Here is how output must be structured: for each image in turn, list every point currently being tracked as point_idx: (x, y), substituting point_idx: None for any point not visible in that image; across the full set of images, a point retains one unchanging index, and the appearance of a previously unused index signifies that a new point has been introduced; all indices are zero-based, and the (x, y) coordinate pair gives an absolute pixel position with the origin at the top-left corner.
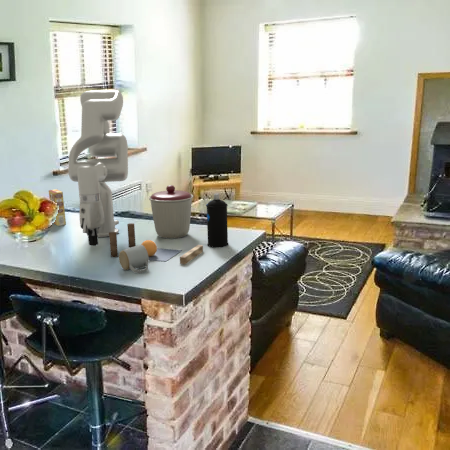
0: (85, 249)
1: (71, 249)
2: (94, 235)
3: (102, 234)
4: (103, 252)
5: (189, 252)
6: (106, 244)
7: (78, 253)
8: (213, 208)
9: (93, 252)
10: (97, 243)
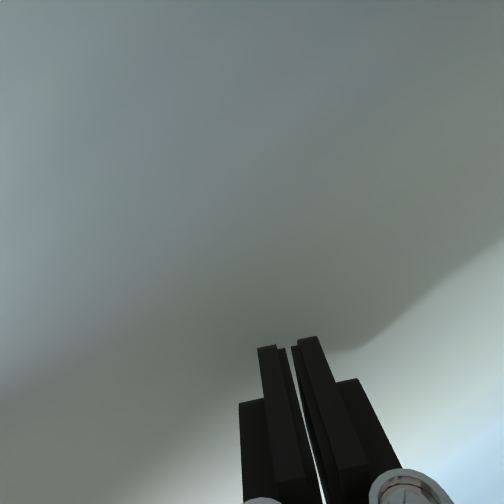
0: None
1: None
2: (379, 479)
3: None
4: (368, 124)
5: None
6: (62, 360)
7: (499, 359)
8: None
9: (415, 247)
10: (278, 353)
